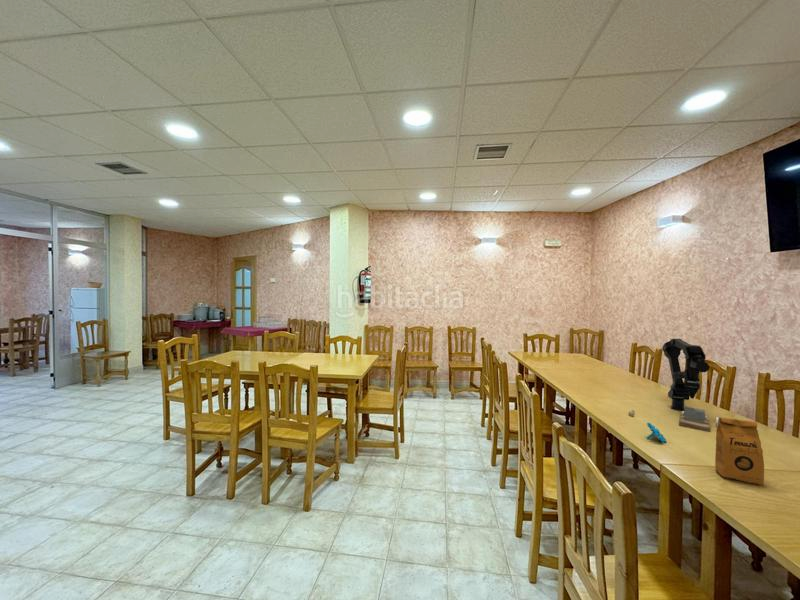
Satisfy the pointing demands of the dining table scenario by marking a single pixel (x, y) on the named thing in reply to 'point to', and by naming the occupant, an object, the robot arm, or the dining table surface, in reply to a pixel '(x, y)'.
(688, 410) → the housing
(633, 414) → the loose bolt
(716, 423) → the cream thin sliver
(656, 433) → the blue t-shaped bar
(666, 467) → the dining table surface
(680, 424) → the stand
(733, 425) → the coffee package
